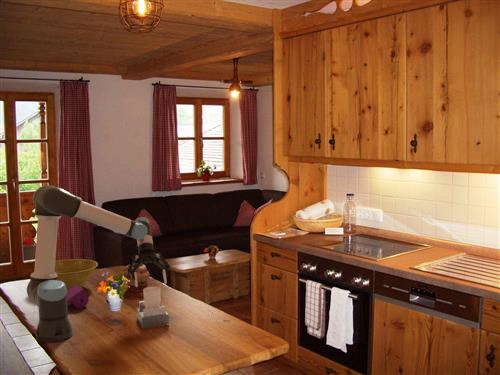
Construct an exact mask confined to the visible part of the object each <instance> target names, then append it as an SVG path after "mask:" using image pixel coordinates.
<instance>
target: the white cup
mask: <svg viewBox="0 0 500 375" xmlns="http://www.w3.org/2000/svg"><path fill="white" fill-rule="evenodd" d="M142 293H143V301H144V305H145V309H146V308H154V307H160V299H161V287H159V286H147V288H144V289H143V292H142Z"/></svg>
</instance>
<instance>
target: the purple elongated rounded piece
mask: <svg viewBox="0 0 500 375" xmlns="http://www.w3.org/2000/svg"><path fill="white" fill-rule="evenodd" d="M88 303H89V295H88V294H87V292H86V291H85V289H84V287H82V288H81V287H79V286H77V285H75V286H74V287H72V288H71V289H69V290H68V291H67V306H68V305H72V306H73V307H75V308H76V309H83V308H85V307H86V306H87V304H88Z"/></svg>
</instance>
